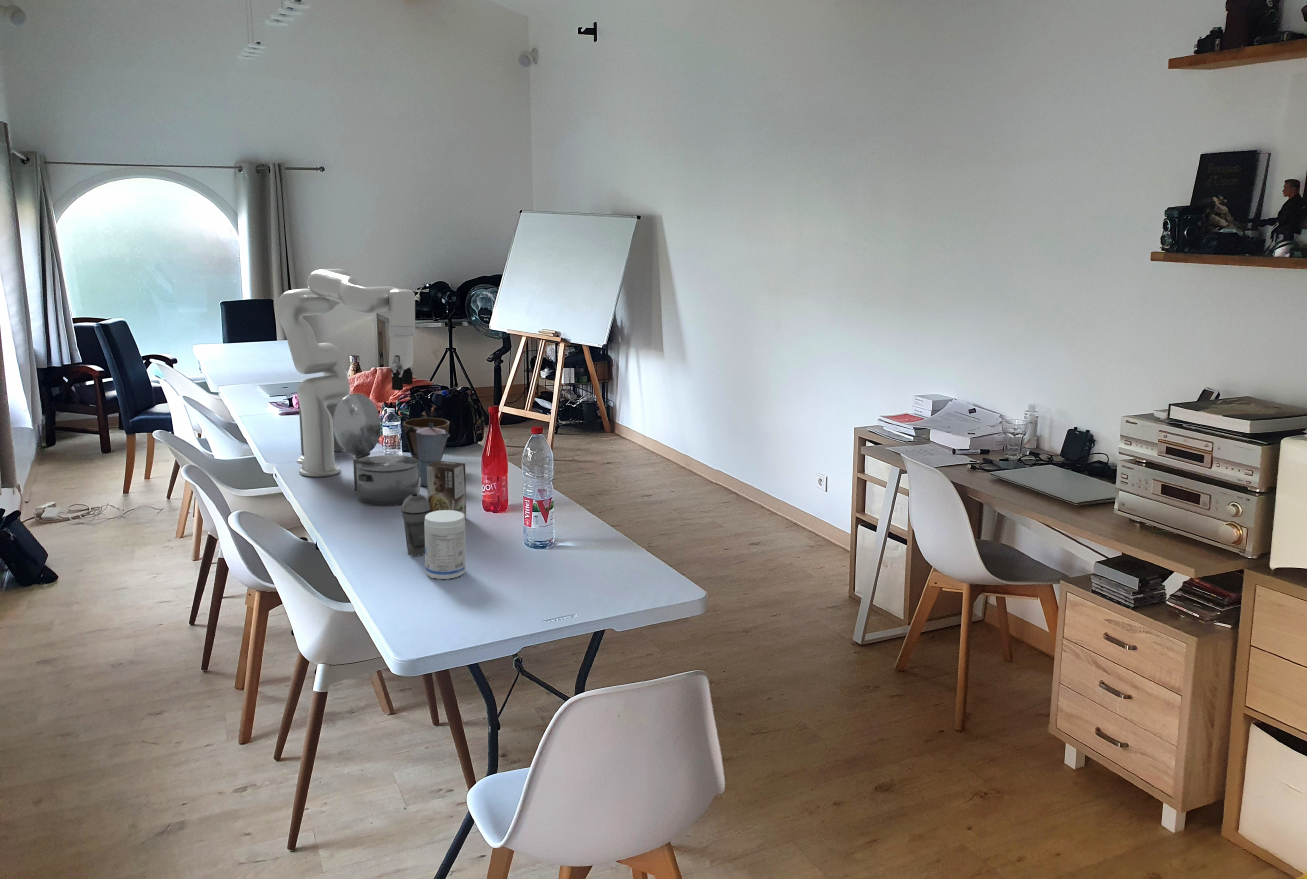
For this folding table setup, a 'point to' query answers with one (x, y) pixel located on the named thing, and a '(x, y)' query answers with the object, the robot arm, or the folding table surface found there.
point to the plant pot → (424, 424)
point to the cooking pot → (385, 479)
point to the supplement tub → (444, 544)
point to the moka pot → (427, 447)
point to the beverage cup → (415, 521)
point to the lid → (356, 425)
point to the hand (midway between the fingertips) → (402, 387)
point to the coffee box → (446, 486)
